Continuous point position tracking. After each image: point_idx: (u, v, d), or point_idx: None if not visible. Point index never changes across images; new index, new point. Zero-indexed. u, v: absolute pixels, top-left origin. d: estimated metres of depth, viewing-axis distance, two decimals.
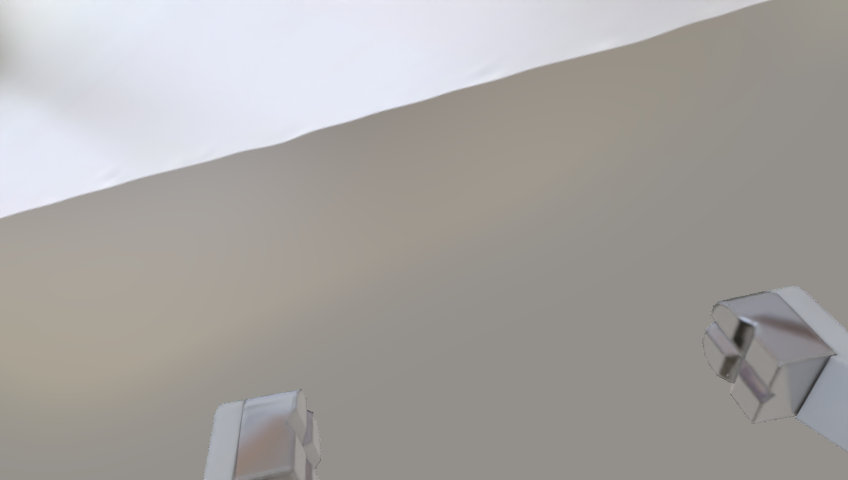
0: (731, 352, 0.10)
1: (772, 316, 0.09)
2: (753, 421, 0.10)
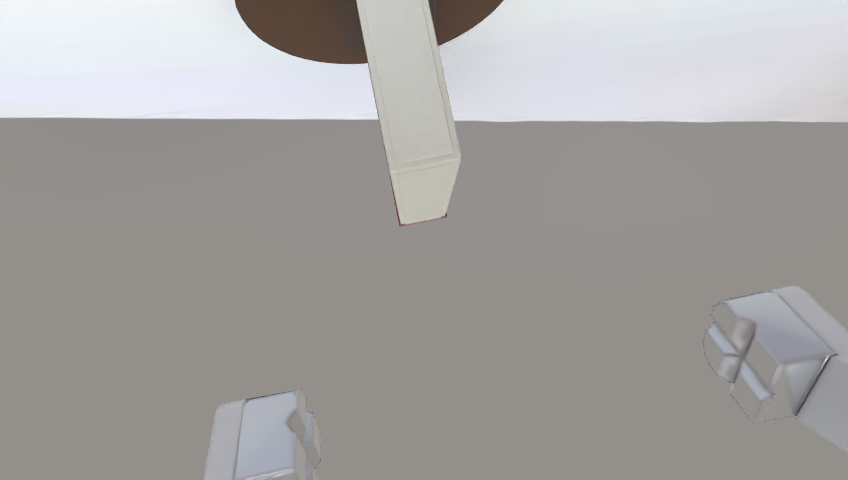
0: (731, 352, 0.10)
1: (772, 316, 0.09)
2: (752, 421, 0.10)
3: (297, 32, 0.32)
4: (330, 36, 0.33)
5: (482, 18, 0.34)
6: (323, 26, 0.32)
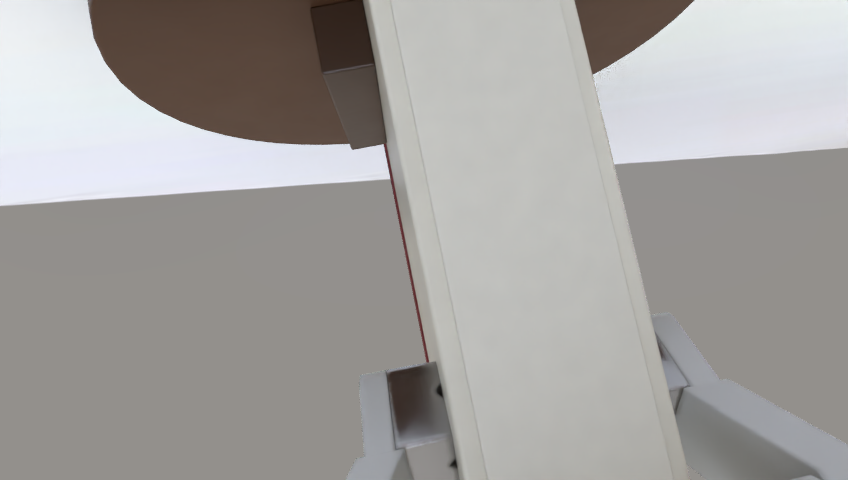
0: None
1: None
2: None
3: (257, 111, 0.17)
4: (319, 113, 0.18)
5: None
6: (306, 100, 0.17)
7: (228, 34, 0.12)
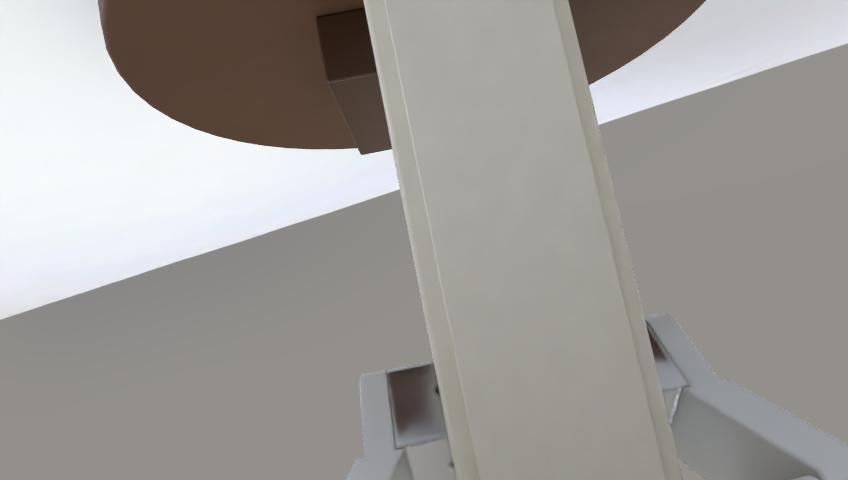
0: None
1: None
2: None
3: (267, 117, 0.17)
4: (329, 118, 0.18)
5: (596, 79, 0.20)
6: (315, 106, 0.17)
7: (236, 44, 0.12)
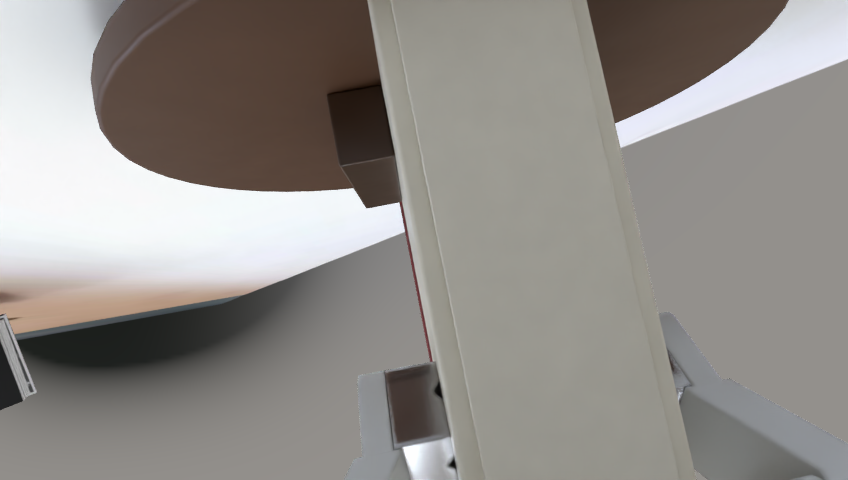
0: None
1: None
2: None
3: (268, 171, 0.16)
4: (332, 168, 0.17)
5: None
6: (319, 160, 0.16)
7: (240, 118, 0.12)
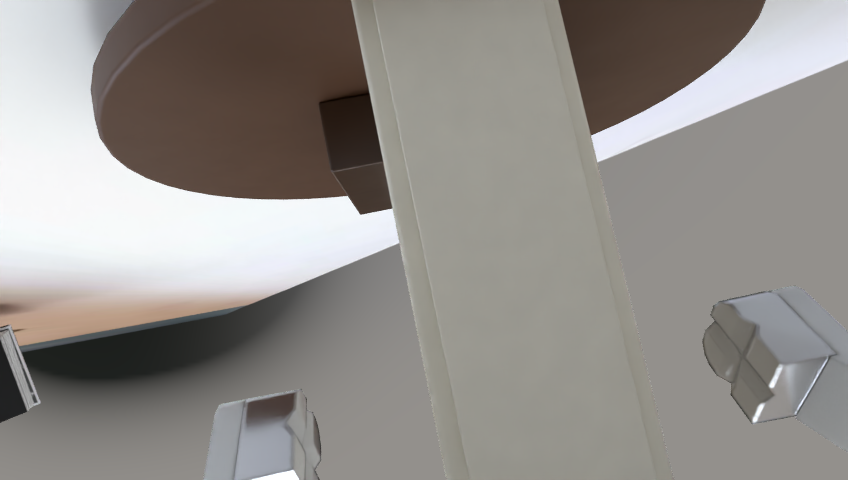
0: (731, 352, 0.10)
1: (772, 316, 0.09)
2: (753, 421, 0.10)
3: (264, 178, 0.17)
4: (327, 175, 0.18)
5: (597, 131, 0.19)
6: (313, 168, 0.17)
7: (235, 127, 0.12)
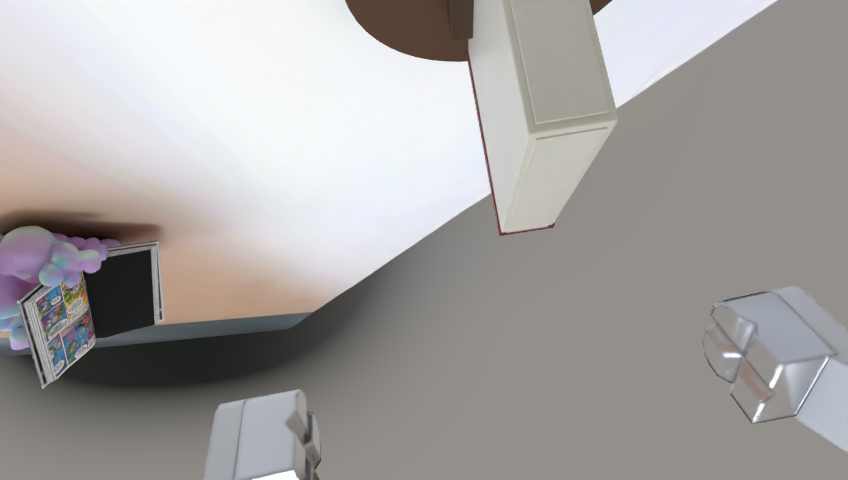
0: (731, 352, 0.10)
1: (772, 316, 0.09)
2: (753, 421, 0.10)
3: (399, 17, 0.29)
4: (433, 24, 0.30)
5: (599, 8, 0.31)
6: (427, 10, 0.29)
7: None
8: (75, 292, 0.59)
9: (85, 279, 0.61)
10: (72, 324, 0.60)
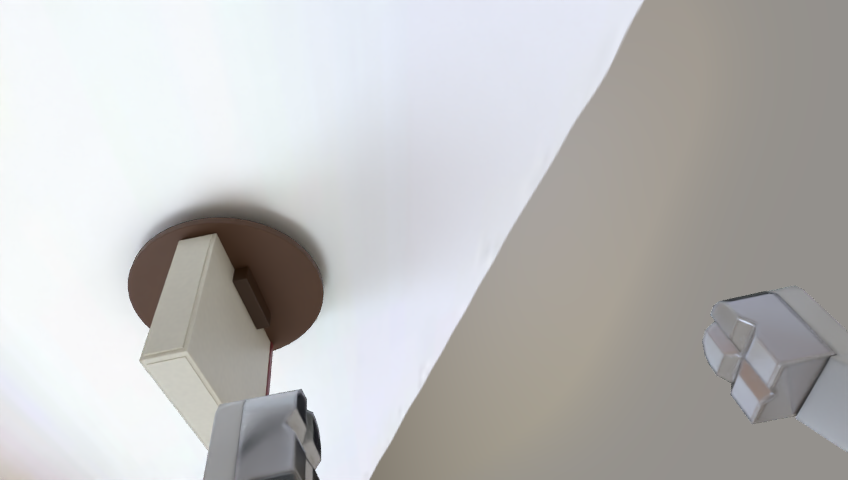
0: (731, 352, 0.10)
1: (772, 316, 0.09)
2: (753, 421, 0.10)
3: None
4: None
5: (314, 317, 0.49)
6: None
7: (163, 288, 0.44)
8: None
9: None
10: None
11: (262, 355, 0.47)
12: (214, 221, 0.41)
